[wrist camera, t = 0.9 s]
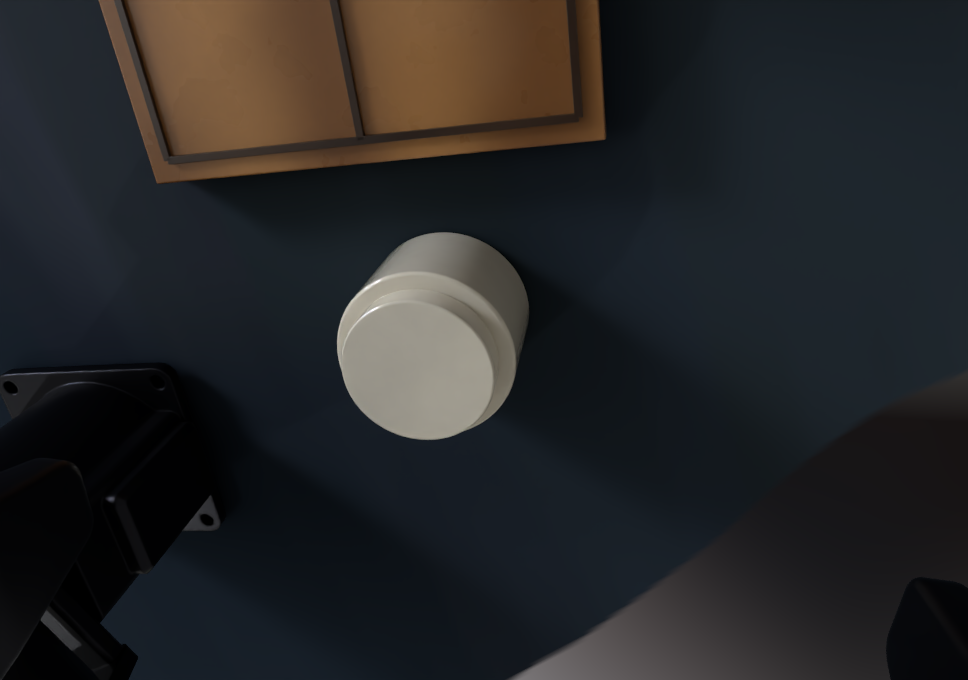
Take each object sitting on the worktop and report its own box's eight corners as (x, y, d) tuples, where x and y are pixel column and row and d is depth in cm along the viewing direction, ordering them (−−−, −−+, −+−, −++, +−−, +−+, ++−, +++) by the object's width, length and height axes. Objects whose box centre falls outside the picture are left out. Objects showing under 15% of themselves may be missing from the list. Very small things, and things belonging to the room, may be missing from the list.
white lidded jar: (388, 380, 22) (345, 455, 19) (359, 237, 20) (305, 290, 17) (537, 375, 21) (521, 453, 18) (520, 225, 19) (499, 278, 16)
